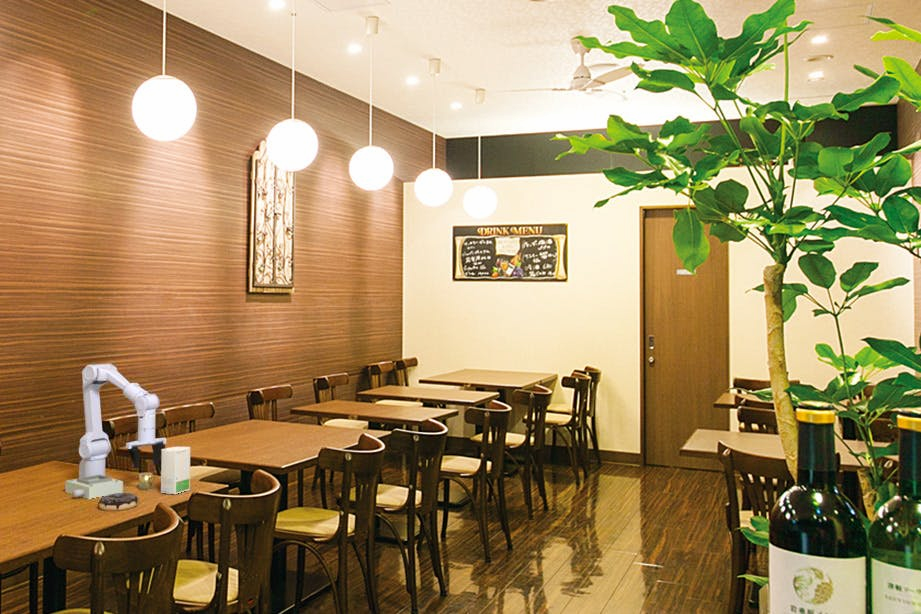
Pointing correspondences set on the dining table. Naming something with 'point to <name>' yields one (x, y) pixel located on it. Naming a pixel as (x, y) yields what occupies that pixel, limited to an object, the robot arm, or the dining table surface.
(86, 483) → the gearbox
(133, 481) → the dining table surface
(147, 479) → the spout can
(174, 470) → the skincare box
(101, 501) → the donut
